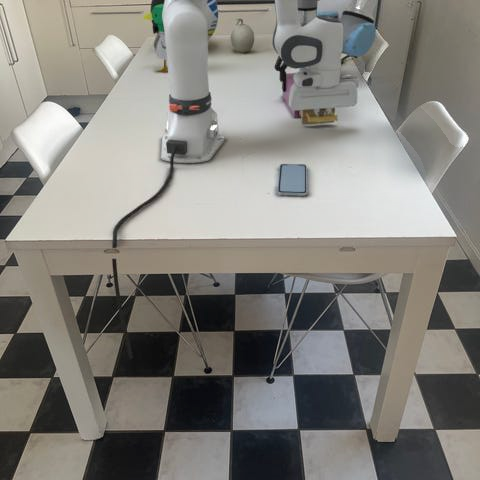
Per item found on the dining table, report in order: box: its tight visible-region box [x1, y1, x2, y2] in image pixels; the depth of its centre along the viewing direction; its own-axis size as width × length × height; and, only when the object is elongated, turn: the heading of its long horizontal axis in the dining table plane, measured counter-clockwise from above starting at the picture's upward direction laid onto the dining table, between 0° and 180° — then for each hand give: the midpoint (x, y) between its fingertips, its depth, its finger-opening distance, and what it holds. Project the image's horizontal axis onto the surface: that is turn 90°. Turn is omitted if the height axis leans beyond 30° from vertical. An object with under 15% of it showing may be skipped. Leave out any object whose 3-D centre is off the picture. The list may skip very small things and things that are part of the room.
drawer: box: [298, 108, 339, 125], centre depth 164 cm, size 24×10×6 cm, turn 7°
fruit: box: [230, 18, 255, 53], centre depth 228 cm, size 10×12×15 cm
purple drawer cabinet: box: [281, 72, 301, 118], centre depth 174 cm, size 20×11×8 cm, turn 7°
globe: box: [149, 0, 219, 41], centre depth 229 cm, size 30×30×30 cm
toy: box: [141, 4, 168, 73], centre depth 204 cm, size 8×20×24 cm, turn 69°
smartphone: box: [277, 163, 308, 197], centre depth 132 cm, size 7×1×15 cm
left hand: (321, 121), depth 157 cm, fingers closed, pressing on drawer
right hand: (301, 89), depth 179 cm, fingers closed on purple drawer cabinet, 11 cm apart
